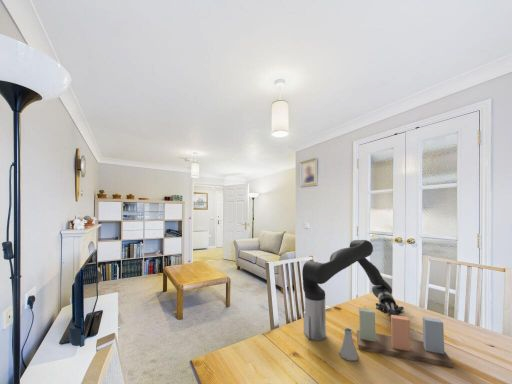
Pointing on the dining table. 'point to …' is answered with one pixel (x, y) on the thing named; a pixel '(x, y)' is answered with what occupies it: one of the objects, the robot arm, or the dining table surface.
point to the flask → (348, 347)
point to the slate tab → (433, 335)
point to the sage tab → (367, 324)
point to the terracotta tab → (400, 332)
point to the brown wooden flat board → (415, 353)
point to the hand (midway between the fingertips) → (393, 315)
